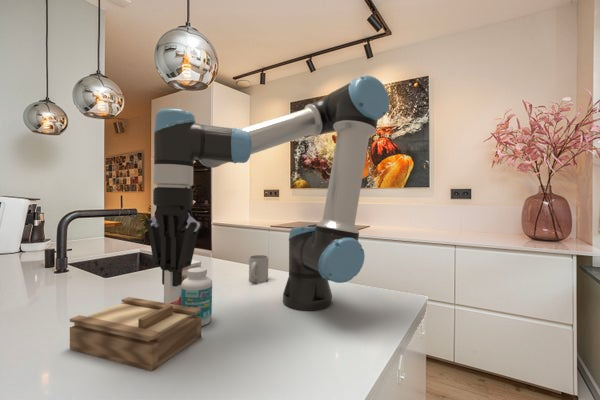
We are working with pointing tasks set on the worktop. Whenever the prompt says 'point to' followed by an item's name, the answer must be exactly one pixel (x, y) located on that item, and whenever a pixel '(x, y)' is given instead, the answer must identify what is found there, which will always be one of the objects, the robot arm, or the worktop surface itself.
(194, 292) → the pill bottle
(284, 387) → the worktop surface
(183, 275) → the ink box
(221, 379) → the worktop surface
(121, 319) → the lid
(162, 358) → the box
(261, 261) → the cup
